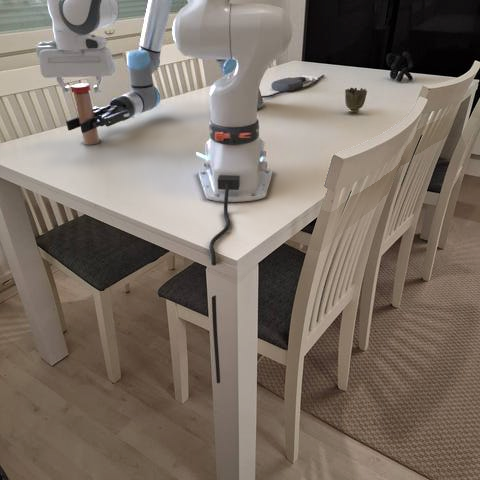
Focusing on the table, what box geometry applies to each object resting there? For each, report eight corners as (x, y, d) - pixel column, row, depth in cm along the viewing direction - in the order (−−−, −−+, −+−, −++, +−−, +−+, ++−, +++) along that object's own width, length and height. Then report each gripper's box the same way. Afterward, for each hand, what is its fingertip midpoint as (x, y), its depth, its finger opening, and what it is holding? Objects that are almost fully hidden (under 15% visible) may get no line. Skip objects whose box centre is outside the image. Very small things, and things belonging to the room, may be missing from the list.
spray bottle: (268, 89, 190) (300, 79, 206) (290, 92, 184) (320, 82, 200) (269, 81, 189) (300, 72, 205) (290, 85, 183) (321, 75, 199)
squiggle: (400, 92, 202) (376, 71, 205) (417, 76, 202) (392, 56, 205) (405, 81, 191) (380, 59, 194) (423, 64, 191) (397, 42, 194)
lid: (88, 93, 127) (87, 87, 126) (69, 93, 127) (68, 87, 126) (92, 88, 132) (91, 82, 131) (74, 89, 131) (72, 83, 131)
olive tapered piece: (340, 114, 157) (342, 91, 153) (346, 109, 163) (348, 86, 159) (361, 116, 154) (364, 93, 150) (366, 111, 160) (369, 88, 156)
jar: (88, 145, 135) (76, 90, 126) (81, 142, 138) (69, 87, 129) (102, 142, 137) (91, 87, 129) (95, 138, 140) (84, 84, 132)
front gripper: (30, 43, 120) (43, 96, 127) (107, 41, 120) (115, 94, 128) (38, 40, 125) (49, 91, 132) (111, 38, 126) (119, 89, 133)
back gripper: (149, 121, 146) (100, 143, 129) (107, 115, 153) (55, 135, 136) (146, 98, 142) (95, 117, 125) (103, 92, 149) (49, 110, 132)
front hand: (82, 92), depth 130 cm, fingers open, 7 cm apart
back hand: (74, 127), depth 130 cm, fingers closed on jar, 5 cm apart
